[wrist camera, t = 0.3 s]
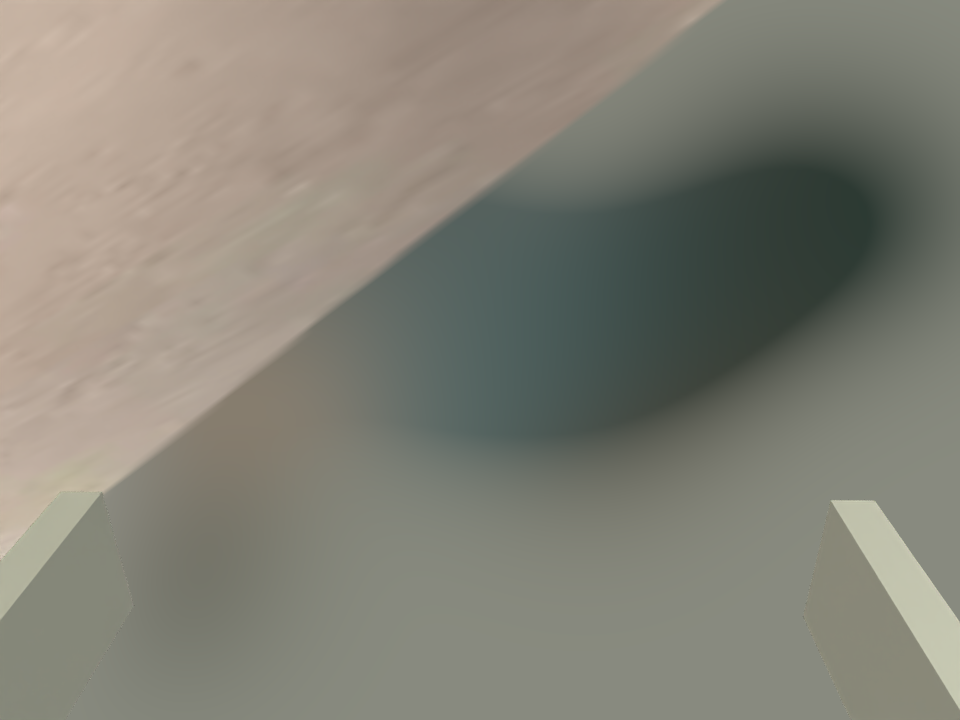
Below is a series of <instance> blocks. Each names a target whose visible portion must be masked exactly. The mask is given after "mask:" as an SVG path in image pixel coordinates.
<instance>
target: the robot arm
mask: <svg viewBox="0 0 960 720" xmlns="http://www.w3.org/2000/svg"><path fill="white" fill-rule="evenodd" d="M133 606H134V604H133V600H132V597H131V593H130V590H129V586H128V583H127V579H126V575H125V572H124V568H123V565H122V561H121V558H120V554H119V551H118V547H117V544H116V540H115V537H114V533H113V530H112V526H111V522H110V519H109V515H108V512H107V508H106V505H105V501H104V498H103V494H102V492H60V493H59V494H58V496H57V497H56V498H55V499H54V500H53V501H52V502H51V504H50V505H49V506H48V507H47V508H46V509H45V510H44V512H43V513H42V514H41V515H40V516H39V517H38V518H37V520H36V521H35V522H34V523H33V524H32V525H31V526H30V528H29V529H28V530H27V531H26V532H25V533H24V534H23V536H22V537H21V538H20V539H19V540H18V541H17V542H16V544H15V545H14V546H13V547H12V548H11V549H10V550H9V552H8V553H7V554H6V555H5V556H4V557H3V558H2V560H1V561H0V720H66V718H67V716H68V715H69V713H70V712H71V710H72V708H73V707H74V705H75V703H76V702H77V700H78V698H79V696H80V695H81V693H82V692H83V690H84V688H85V686H86V685H87V683H88V681H89V680H90V678H91V676H92V675H93V673H94V671H95V670H96V668H97V666H98V665H99V663H100V661H101V660H102V658H103V656H104V655H105V653H106V651H107V650H108V648H109V646H110V645H111V643H112V641H113V640H114V638H115V636H116V635H117V633H118V631H119V629H120V628H121V626H122V625H123V623H124V621H125V620H126V618H127V616H128V614H129V613H130V611H131V610H132V608H133ZM803 617H804V619H805V622H806V624H807V626H808V628H809V630H810V633H811V635H812V637H813V639H814V641H815V643H816V646H817V647H818V650H819V652H820V654H821V656H822V659H823V661H824V663H825V665H826V667H827V669H828V672H829V674H830V676H831V678H832V680H833V682H834V685H835V687H836V689H837V691H838V693H839V695H840V698H841V700H842V702H843V704H844V706H845V709H846V711H847V713H848V715H849V717H850V719H851V720H960V622H959V620H958V619H957V618H956V616H955V615H954V613H953V612H952V611H951V609H950V608H949V607H948V605H947V603H946V602H945V600H944V599H943V598H942V596H941V595H940V593H939V592H938V591H937V589H936V588H935V586H934V585H933V583H932V582H931V580H930V579H929V578H928V576H927V575H926V573H925V572H924V571H923V569H922V568H921V566H920V565H919V563H918V562H917V560H916V559H915V558H914V556H913V555H912V553H911V552H910V551H909V549H908V548H907V546H906V545H905V543H904V542H903V540H902V539H901V538H900V536H899V535H898V534H897V532H896V530H895V529H894V528H893V526H892V525H891V523H890V522H889V521H888V519H887V518H886V516H885V515H884V513H883V512H882V511H881V509H880V508H879V506H878V505H877V504H876V502H875V501H855V500H853V501H851V500H831V501H830V505H829V509H828V513H827V518H826V522H825V526H824V530H823V535H822V539H821V543H820V547H819V551H818V556H817V560H816V564H815V569H814V573H813V577H812V582H811V585H810V589H809V594H808V598H807V602H806V607H805V611H804V615H803Z"/></svg>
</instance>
